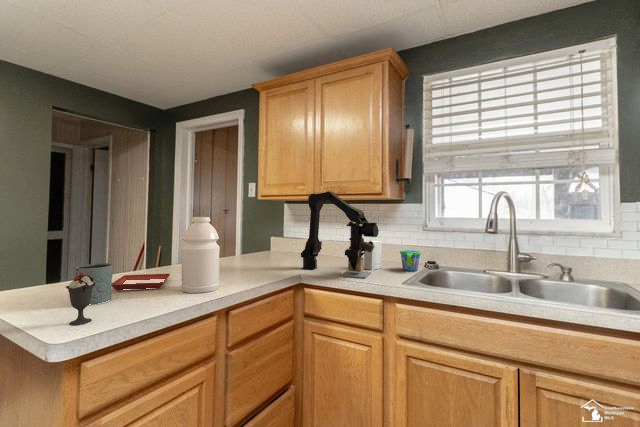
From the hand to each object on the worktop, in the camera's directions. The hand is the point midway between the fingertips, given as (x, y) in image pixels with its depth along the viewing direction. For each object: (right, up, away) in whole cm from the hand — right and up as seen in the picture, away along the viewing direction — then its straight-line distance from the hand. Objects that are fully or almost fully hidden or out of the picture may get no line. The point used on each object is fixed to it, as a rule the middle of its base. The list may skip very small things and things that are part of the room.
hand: (355, 268), depth 150 cm
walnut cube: (0, -1, 0) cm, 1 cm away
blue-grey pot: (-92, -3, -46) cm, 103 cm away
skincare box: (+11, -3, +17) cm, 21 cm away
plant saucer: (-89, -3, -24) cm, 92 cm away
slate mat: (0, -3, 0) cm, 3 cm away
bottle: (-64, -3, -29) cm, 70 cm away
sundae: (-83, -3, -65) cm, 105 cm away
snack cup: (+30, -4, +14) cm, 33 cm away
